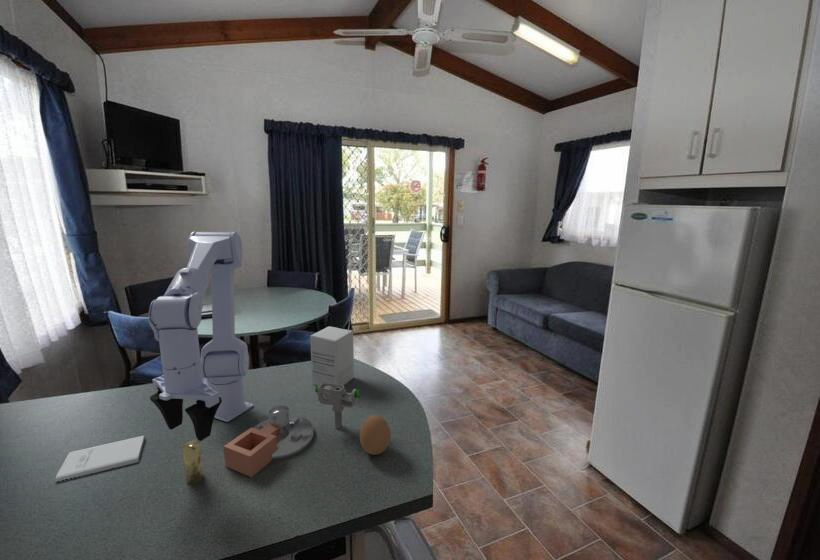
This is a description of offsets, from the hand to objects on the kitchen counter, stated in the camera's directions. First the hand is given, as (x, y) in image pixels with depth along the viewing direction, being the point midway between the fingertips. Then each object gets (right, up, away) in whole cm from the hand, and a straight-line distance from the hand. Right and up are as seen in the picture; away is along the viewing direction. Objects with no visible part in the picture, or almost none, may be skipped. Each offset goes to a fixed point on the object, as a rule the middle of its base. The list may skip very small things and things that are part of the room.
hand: (189, 431), depth 67 cm
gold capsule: (0, -10, +2) cm, 10 cm away
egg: (+33, -9, +11) cm, 36 cm away
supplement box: (+18, -2, +40) cm, 44 cm away
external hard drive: (-21, -9, +7) cm, 24 cm away
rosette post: (+12, -7, +14) cm, 20 cm away
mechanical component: (+23, -7, +19) cm, 31 cm away
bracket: (+9, -8, +8) cm, 15 cm away
